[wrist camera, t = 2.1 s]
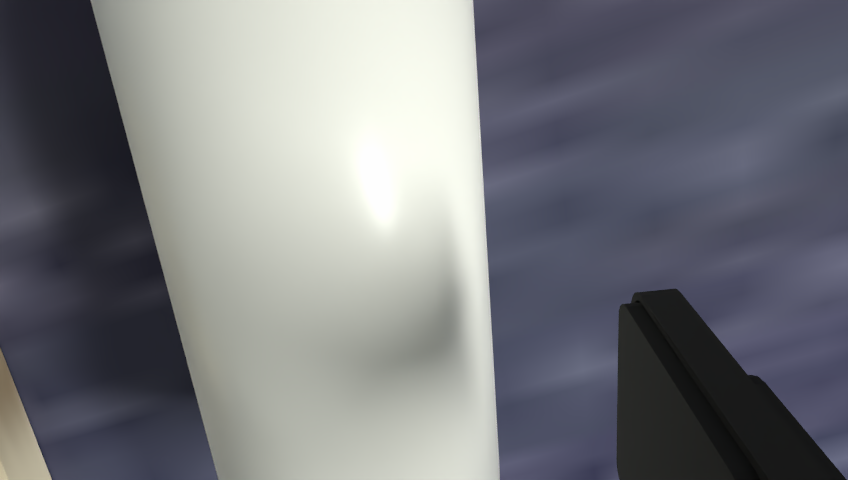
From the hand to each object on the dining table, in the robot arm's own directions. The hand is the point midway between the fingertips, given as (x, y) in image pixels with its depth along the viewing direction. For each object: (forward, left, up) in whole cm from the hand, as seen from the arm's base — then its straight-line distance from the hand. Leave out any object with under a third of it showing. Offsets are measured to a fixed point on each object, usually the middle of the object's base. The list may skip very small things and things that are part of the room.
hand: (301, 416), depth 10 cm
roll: (-1, 0, -7) cm, 7 cm away
